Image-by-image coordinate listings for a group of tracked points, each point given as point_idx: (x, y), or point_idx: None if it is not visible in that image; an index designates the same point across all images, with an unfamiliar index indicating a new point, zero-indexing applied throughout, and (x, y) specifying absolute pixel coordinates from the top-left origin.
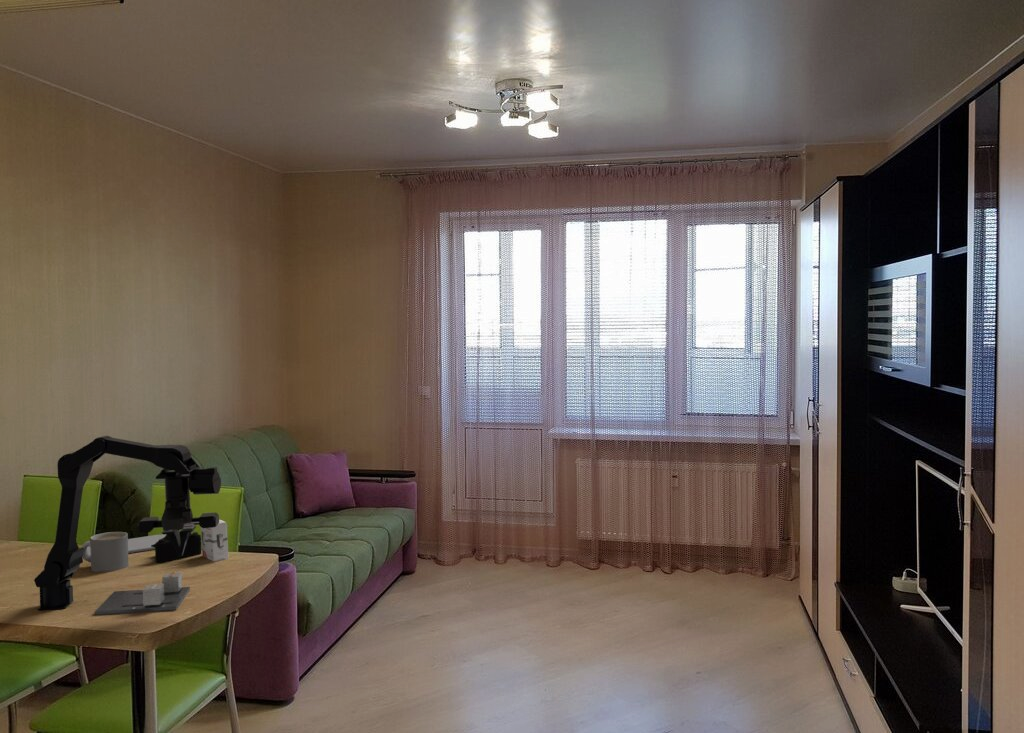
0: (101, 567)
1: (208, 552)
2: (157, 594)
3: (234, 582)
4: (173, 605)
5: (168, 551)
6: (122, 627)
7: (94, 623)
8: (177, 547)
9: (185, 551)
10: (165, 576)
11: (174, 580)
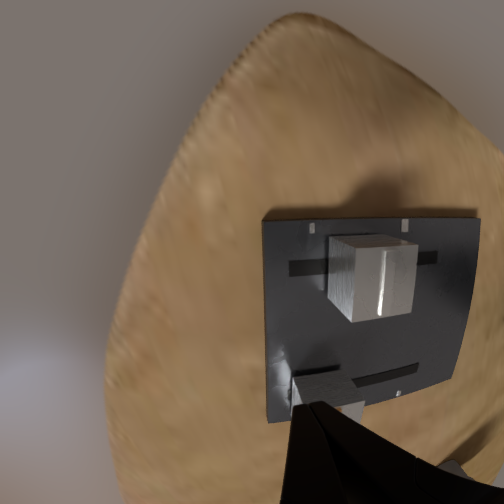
0: (452, 468)
1: None
2: (354, 242)
3: (154, 452)
4: (277, 234)
5: None
6: (386, 85)
7: (459, 150)
8: (360, 449)
9: None
10: (354, 410)
11: (317, 400)
